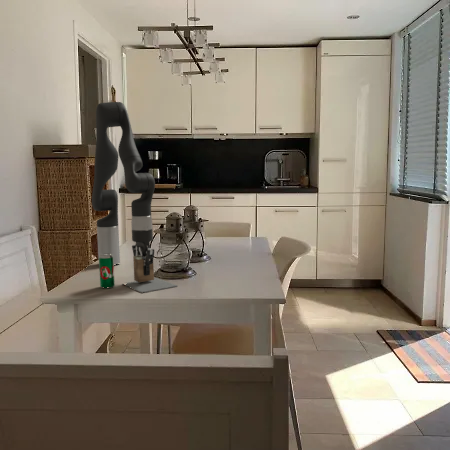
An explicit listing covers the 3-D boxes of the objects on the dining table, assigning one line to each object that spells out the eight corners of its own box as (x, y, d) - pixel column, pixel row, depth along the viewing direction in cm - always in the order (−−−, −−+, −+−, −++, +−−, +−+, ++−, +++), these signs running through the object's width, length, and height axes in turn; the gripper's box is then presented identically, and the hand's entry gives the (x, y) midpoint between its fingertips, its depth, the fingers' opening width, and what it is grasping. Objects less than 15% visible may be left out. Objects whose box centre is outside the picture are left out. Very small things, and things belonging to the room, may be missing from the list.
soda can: (108, 284, 176) (107, 252, 175) (117, 286, 173) (116, 254, 172) (97, 287, 172) (95, 254, 171) (106, 289, 169) (104, 256, 168)
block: (134, 280, 177) (133, 256, 176) (148, 277, 180) (148, 254, 179) (139, 282, 174) (138, 257, 173) (153, 279, 177) (153, 255, 176)
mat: (122, 284, 176) (122, 283, 176) (156, 278, 184) (156, 277, 184) (141, 293, 163) (141, 292, 163) (177, 286, 172) (177, 285, 172)
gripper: (124, 227, 178) (126, 272, 180) (141, 230, 167) (143, 279, 169) (142, 225, 183) (144, 269, 185) (160, 228, 171) (162, 276, 173)
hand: (143, 273), depth 177 cm, fingers closed on block, 4 cm apart
